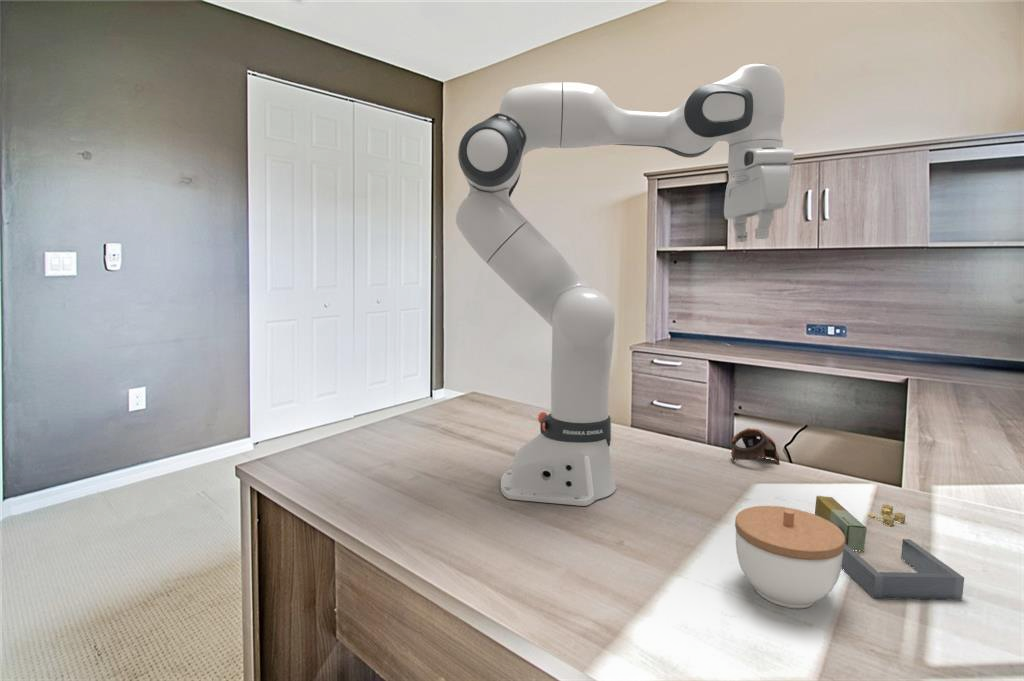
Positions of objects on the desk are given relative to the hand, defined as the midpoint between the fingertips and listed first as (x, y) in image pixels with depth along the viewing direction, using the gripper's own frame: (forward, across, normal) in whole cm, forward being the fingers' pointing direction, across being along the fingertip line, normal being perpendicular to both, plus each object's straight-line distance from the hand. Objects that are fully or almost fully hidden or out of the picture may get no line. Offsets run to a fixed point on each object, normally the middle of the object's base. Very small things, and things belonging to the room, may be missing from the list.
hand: (750, 240), depth 99 cm
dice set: (+48, +13, +20) cm, 54 cm away
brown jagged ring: (+48, -16, +9) cm, 51 cm away
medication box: (+48, +18, +9) cm, 52 cm away
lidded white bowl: (+48, +35, -7) cm, 59 cm away
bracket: (+47, +31, +9) cm, 57 cm away
